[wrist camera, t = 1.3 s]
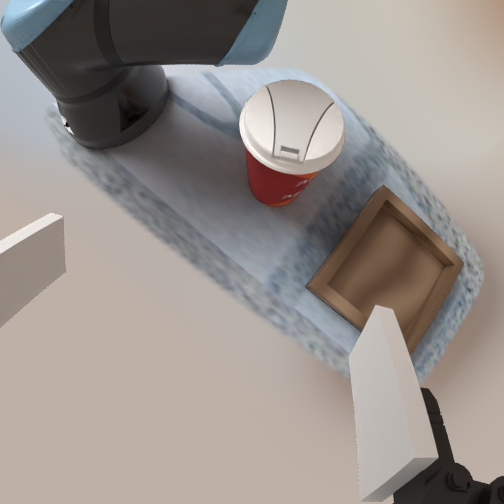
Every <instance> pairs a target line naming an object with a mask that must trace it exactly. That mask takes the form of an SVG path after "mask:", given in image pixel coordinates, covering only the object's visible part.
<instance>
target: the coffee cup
mask: <svg viewBox="0 0 504 504" xmlns="http://www.w3.org/2000/svg"><path fill="white" fill-rule="evenodd" d="M239 125H240V133H241V137H242V140H243V142H244V144H245V146H246V158H247V169H248V179H249V185H250V188H251V191H252V193H253V195H254V196H255V197H256V198H257V199H258V200H259V201H260V202H262V203H264V204H266V205H269V206H283V205H286V204H288V203H290V202H291V201H293V200H294V199H295V198H296V197H297V196H298V195H299V194H300V193H301V192H302V190H303V189H304V188H305V187H306V186H307V185H308V184H309V183H310V181H311V180H312V179H313V178H314V177H315V176H316V174H317V173H318V172H319V171H320V170H321V169H323V168H325V167H327V166H328V165H330V164H331V163H332V162H333V161H334V160H335V159H336V158H337V157H338V155H339V154H340V152H341V150H342V147H343V145H344V140H345V128H344V122H343V116H342V114H341V111H340V109H339V107H338V105H337V103H336V102H334V100H333V99H332V98H331V97H330V96H329V95H328V94H327V93H325V92H324V91H323V90H322V89H320V88H319V87H317V86H315V85H313V84H310V83H307V82H303V81H298V80H281V81H277V82H273V83H270V84H267V85H265V86H263V87H261V88H260V89H259V90H258V91H257V92H256V93H255V94H254V95H253V96H251V97H250V99H249V100H248V101H247V102H246V104H245V105H244V107H243V109H242V112H241V115H240V121H239Z"/></svg>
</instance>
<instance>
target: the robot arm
mask: <svg viewBox="0 0 504 504" xmlns="http://www.w3.org/2000/svg"><path fill="white" fill-rule="evenodd" d="M287 1H288V0H11V1H10V2H9V4H8V5H7V7H6V9H5V11H4V13H3V15H2V18H1V29H2V30H1V31H2V33H3V35H4V36H5V37H6V39H7V41H8V42H9V43H10V45H11V49H12V51H13V52H14V53H16V54H17V55H18V56H19V57H20V58H21V60H22V61H23V62H24V63H25V64H26V65H27V66H28V68H29V69H30V70H31V71H32V72H33V73H34V74H35V75H36V76H37V78H38V79H39V80H40V81H41V82H42V83H43V84H44V85H45V87H46V88H47V89H48V90H49V91H50V92H51V93H52V94H53V95H54V96H55V98H56V100H57V104H58V108H59V111H60V114H61V118H62V122H63V124H64V127H65V128H66V130H67V131H68V133H69V134H70V135H71V136H72V137H73V138H74V139H75V140H76V141H78V142H79V143H80V144H82V145H84V146H87V147H90V148H96V149H105V148H111V147H115V146H119V145H122V144H124V143H126V142H128V141H130V140H132V139H134V138H136V137H137V136H139V135H140V134H141V133H143V132H144V131H145V130H146V129H147V128H149V127H150V126H151V125H152V123H153V122H154V121H155V120H156V119H157V117H158V116H159V115H160V113H161V111H162V109H163V107H164V105H165V103H166V99H167V95H168V83H167V79H166V76H165V74H164V70H163V68H162V66H161V65H175V64H201V65H214V66H216V67H219V66H223V65H253V64H257V63H259V62H260V61H262V60H264V59H265V58H266V57H267V56H268V55H269V54H270V52H271V50H272V48H273V46H274V44H275V41H276V38H277V36H278V33H279V29H280V27H281V23H282V20H283V16H284V13H285V9H286V5H287ZM65 272H66V268H65V249H64V217H63V216H60V215H57V214H54V213H50V214H48V215H46V216H44V217H42V218H40V219H38V220H37V221H35V222H33V223H31V224H29V225H27V226H26V227H24V228H22V229H20V230H18V231H17V232H15V233H13V234H11V235H10V236H8V237H6V238H4V239H3V240H1V241H0V328H1V327H2V326H3V325H4V324H5V323H6V322H7V321H8V320H9V319H11V318H12V317H13V316H14V315H15V314H16V313H17V312H18V311H19V310H21V309H22V308H23V307H24V306H25V305H26V304H28V303H29V302H30V301H31V300H32V299H33V298H34V297H36V296H37V295H38V294H39V293H40V292H42V290H44V289H45V288H46V287H47V286H49V285H50V284H51V283H52V282H54V281H55V280H56V279H57V278H59V277H60V276H61V275H62V274H64V273H65ZM348 359H349V367H350V375H351V384H352V393H353V403H354V414H355V425H356V438H357V453H358V469H359V494H360V501H364V502H382V501H384V500H385V499H386V498H388V497H389V496H391V495H392V494H393V497H394V503H393V504H504V476H501V477H498V478H496V479H495V480H494V481H493V482H491V483H490V484H486V483H482V482H478V481H474V480H473V479H472V476H471V475H470V472H469V471H468V470H467V469H466V468H465V467H464V466H462V465H460V464H458V463H455V461H454V458H453V454H452V450H451V447H450V443H449V440H448V436H447V432H446V429H445V426H444V425H443V423H444V422H443V419H442V416H441V415H440V409H439V406H438V403H437V400H436V399H435V397H434V396H433V395H432V393H431V392H430V390H429V389H427V388H420V386H419V383H418V380H417V377H416V374H415V370H414V367H413V364H412V361H411V358H410V355H409V352H408V349H407V347H406V344H405V341H404V338H403V335H402V332H401V330H400V327H399V324H398V322H397V319H396V316H395V314H394V311H393V309H390V308H386V307H382V306H378V305H375V307H374V309H373V311H372V313H371V315H370V317H369V319H368V321H367V323H366V325H365V327H364V329H363V331H362V333H361V335H360V337H359V339H358V340H357V342H356V344H355V346H354V348H353V350H352V351H351V353H350V355H349V357H348Z"/></svg>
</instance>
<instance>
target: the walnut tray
mask: <svg viewBox="0 0 504 504" xmlns="http://www.w3.org/2000/svg"><path fill="white" fill-rule="evenodd" d="M463 265H464V262H463V261H462V260H461V259H460V258H459V257H458V256H457V255H456V254H455V253H454V252H453V250H452V249H451V248H450V247H449V246H448V245H447V244H446V243H445V242H444V241H443V240H442V239H441V238H440V237H439V236H438V235H437V234H436V233H435V232H434V231H433V230H432V229H431V228H430V227H429V226H428V225H427V224H426V223H425V222H424V221H423V220H422V219H421V218H420V217H419V216H418V215H416V214H415V213H414V212H413V211H412V210H411V209H410V208H409V207H408V206H407V205H406V204H405V203H404V202H402V201H401V200H400V199H399V198H398V197H397V196H396V195H395V194H394V193H392V192H391V191H390V190H389V189H388V188H387V187H386V186H385V185H383V186H382V187H380V188H379V189H378V190H376V191H375V192H374V193H373V194H372V196H371V197H370V199H369V200H368V202H367V203H366V204H365V206H364V207H363V209H362V210H361V212H360V213H359V214H358V216H357V217H356V219H355V220H354V221H353V223H352V224H351V226H350V227H349V228H348V230H347V231H346V232H345V234H344V235H343V237H342V238H341V239H340V241H339V242H338V243H337V245H336V246H335V248H334V249H333V250H332V252H331V253H330V254H329V256H328V257H327V258H326V260H325V261H324V262H323V264H322V265H321V266H320V268H319V269H318V270H317V272H316V273H315V274H314V276H313V277H312V278H311V280H310V281H309V282H308V283H307V285H306V286H305V287H306V288H307V289H309V290H310V291H311V292H312V293H313V294H315V295H316V296H317V297H318V298H320V299H321V300H322V301H323V302H325V303H326V304H327V305H328V306H330V307H331V308H332V309H333V310H335V311H336V312H337V313H338V314H339V315H341V316H342V317H343V318H344V319H346V320H347V321H348V322H349V323H351V324H352V325H353V326H354V327H355V328H357V329H358V330H359V331H360V332H362V331H363V329H364V327H365V325H366V323H367V321H368V319H369V317H370V315H371V313H372V311H373V309H374V307H375V305H378V306H382V307H386V308H390V309H393V311H394V314H395V316H396V319H397V322H398V324H399V327H400V330H401V332H402V335H403V338H404V341H405V344H406V347H407V349H408V352H409V355H411V354H412V352H413V351H414V349H415V348H416V346H417V345H418V343H419V342H420V340H421V339H422V337H423V335H424V334H425V332H426V331H427V329H428V327H429V326H430V324H431V323H432V321H433V319H434V318H435V316H436V314H437V313H438V311H439V309H440V307H441V306H442V304H443V302H444V300H445V299H446V297H447V295H448V293H449V292H450V290H451V288H452V286H453V284H454V282H455V280H456V278H457V277H458V275H459V273H460V271H461V269H462V267H463Z"/></svg>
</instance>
